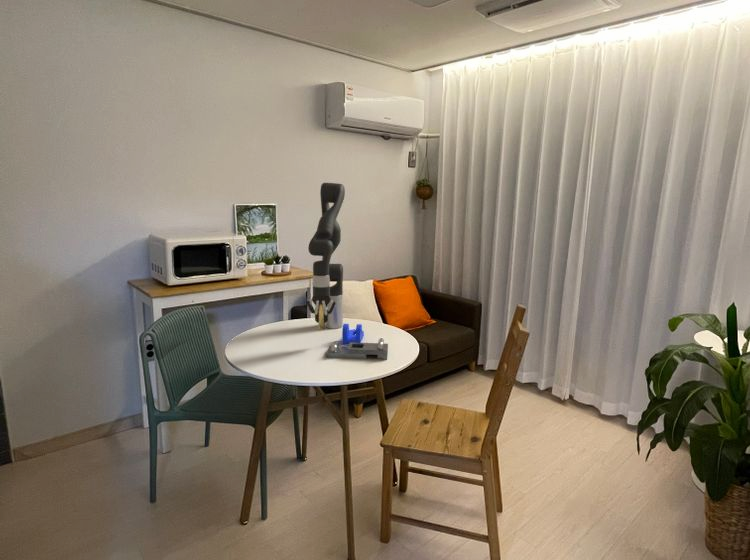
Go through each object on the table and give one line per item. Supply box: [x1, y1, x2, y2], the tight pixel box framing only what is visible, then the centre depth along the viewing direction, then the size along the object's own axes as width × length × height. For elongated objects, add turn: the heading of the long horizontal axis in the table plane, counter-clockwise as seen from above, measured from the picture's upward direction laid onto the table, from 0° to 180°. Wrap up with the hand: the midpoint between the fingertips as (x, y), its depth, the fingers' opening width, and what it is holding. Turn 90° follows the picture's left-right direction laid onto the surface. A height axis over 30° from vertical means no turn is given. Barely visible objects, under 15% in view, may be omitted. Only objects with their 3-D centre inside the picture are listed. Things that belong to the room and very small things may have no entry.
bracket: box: [341, 323, 365, 345], centre depth 212 cm, size 18×8×9 cm, turn 175°
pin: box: [317, 304, 326, 331], centre depth 198 cm, size 3×3×12 cm
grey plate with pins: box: [325, 338, 389, 360], centre depth 191 cm, size 9×26×6 cm, turn 86°
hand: (321, 322), depth 198 cm, fingers closed on pin, 3 cm apart
